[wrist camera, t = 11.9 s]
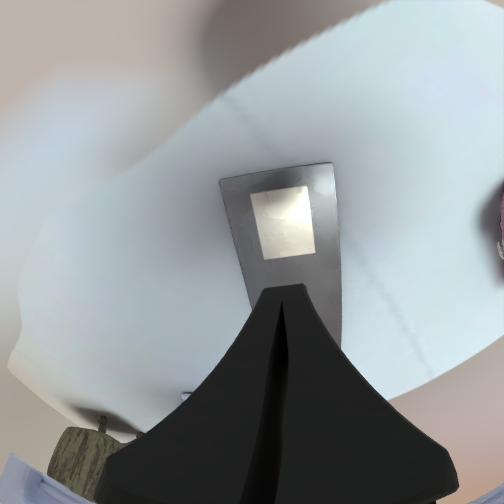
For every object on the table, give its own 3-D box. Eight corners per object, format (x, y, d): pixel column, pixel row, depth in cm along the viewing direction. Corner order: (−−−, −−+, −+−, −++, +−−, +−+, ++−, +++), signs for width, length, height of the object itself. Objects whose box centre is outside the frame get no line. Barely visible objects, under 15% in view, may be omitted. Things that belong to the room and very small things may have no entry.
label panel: (339, 360, 21) (340, 365, 20) (269, 368, 22) (269, 372, 21) (331, 162, 13) (332, 163, 13) (220, 179, 14) (218, 182, 14)
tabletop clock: (103, 429, 39) (69, 525, 18) (72, 404, 35) (29, 507, 14) (157, 438, 36) (124, 557, 14) (122, 412, 32) (76, 546, 10)
